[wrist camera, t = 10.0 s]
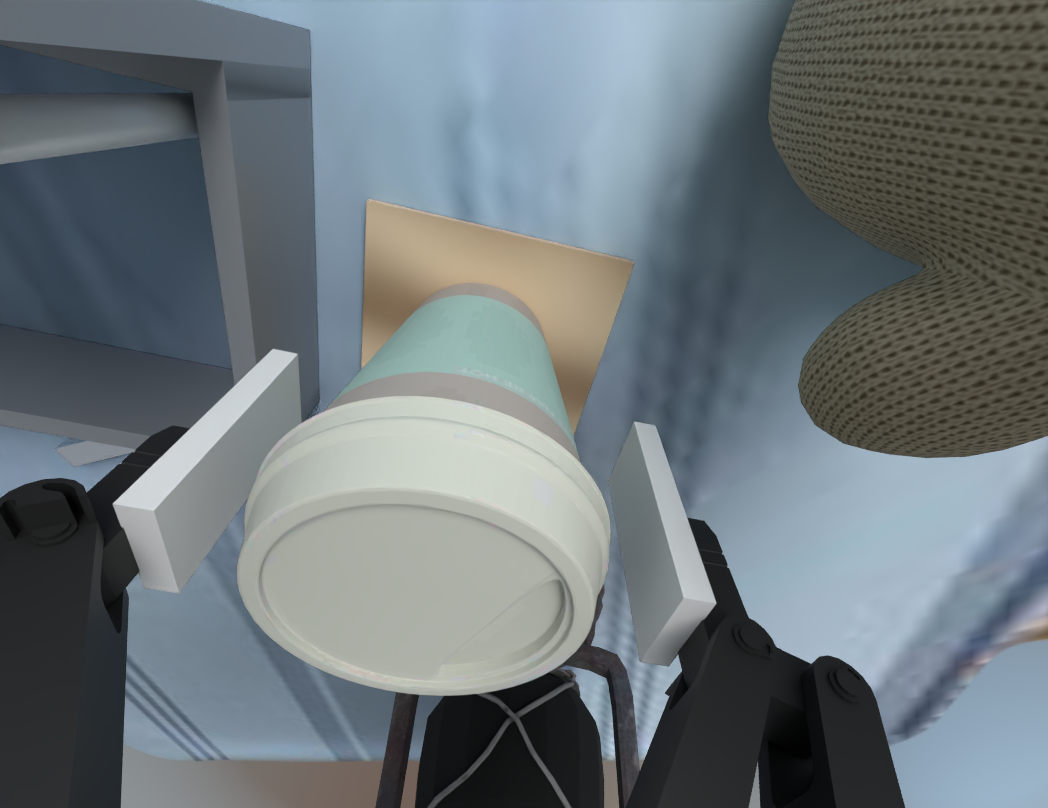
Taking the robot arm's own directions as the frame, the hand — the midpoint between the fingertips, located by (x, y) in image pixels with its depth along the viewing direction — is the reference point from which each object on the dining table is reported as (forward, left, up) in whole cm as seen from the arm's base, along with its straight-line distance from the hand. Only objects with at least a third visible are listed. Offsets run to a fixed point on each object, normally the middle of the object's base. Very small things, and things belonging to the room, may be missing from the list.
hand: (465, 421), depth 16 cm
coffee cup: (0, 0, -5) cm, 5 cm away
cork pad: (0, 0, -5) cm, 5 cm away
